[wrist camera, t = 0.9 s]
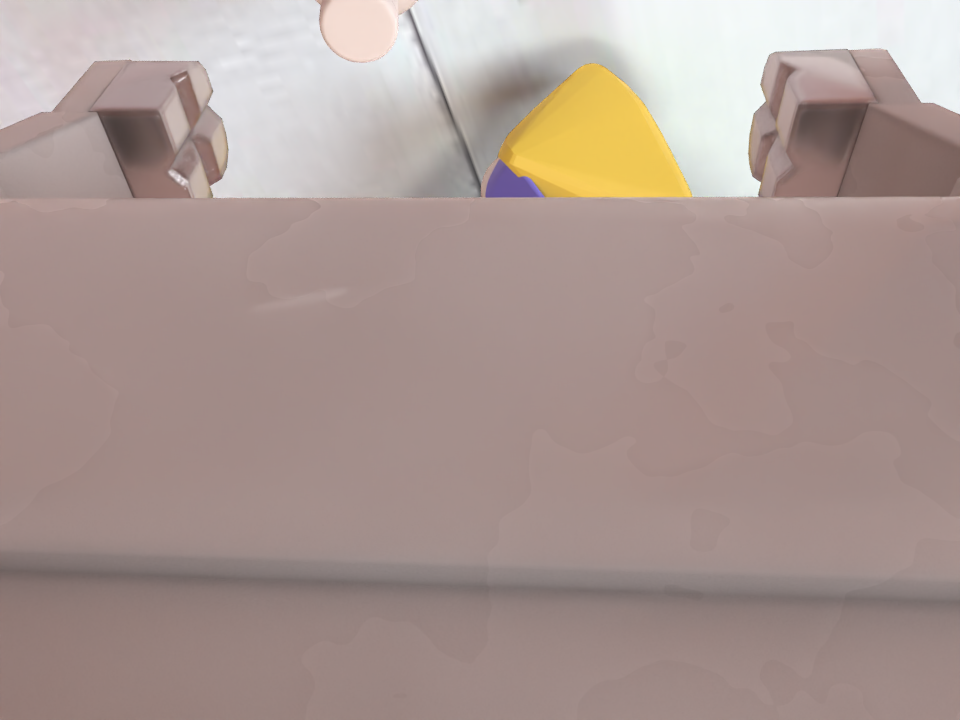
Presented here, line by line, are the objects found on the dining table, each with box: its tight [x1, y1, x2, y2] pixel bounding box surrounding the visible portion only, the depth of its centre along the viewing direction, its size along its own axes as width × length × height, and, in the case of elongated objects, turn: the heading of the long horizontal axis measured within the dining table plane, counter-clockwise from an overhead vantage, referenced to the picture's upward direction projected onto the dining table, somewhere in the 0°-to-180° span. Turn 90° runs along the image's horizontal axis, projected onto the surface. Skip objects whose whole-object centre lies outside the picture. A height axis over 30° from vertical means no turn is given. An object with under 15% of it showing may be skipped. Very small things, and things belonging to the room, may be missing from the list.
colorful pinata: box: [481, 63, 692, 198], centre depth 64 cm, size 32×29×35 cm
